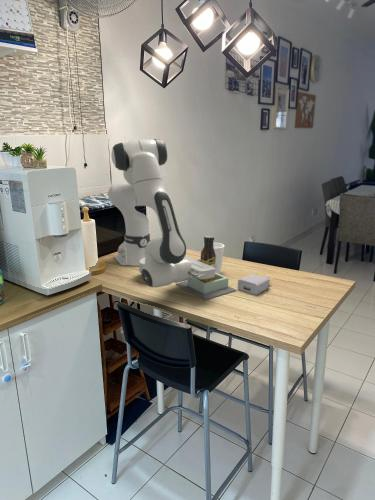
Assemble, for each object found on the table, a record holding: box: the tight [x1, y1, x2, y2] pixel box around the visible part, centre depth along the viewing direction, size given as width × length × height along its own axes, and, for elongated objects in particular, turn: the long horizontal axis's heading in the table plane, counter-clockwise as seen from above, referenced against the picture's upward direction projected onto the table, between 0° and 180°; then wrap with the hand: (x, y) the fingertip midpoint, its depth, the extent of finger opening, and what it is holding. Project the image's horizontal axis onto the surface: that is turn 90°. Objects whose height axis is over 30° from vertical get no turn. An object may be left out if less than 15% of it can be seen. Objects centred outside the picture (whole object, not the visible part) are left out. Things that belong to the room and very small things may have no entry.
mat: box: [175, 280, 237, 301], centre depth 158 cm, size 20×16×1 cm
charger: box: [237, 273, 271, 296], centre depth 159 cm, size 5×9×15 cm
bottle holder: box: [186, 272, 229, 294], centre depth 158 cm, size 11×12×4 cm
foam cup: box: [202, 242, 225, 275], centre depth 174 cm, size 10×9×13 cm
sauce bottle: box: [200, 235, 216, 283], centre depth 156 cm, size 6×6×20 cm
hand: (209, 263), depth 156 cm, fingers closed on sauce bottle, 6 cm apart
